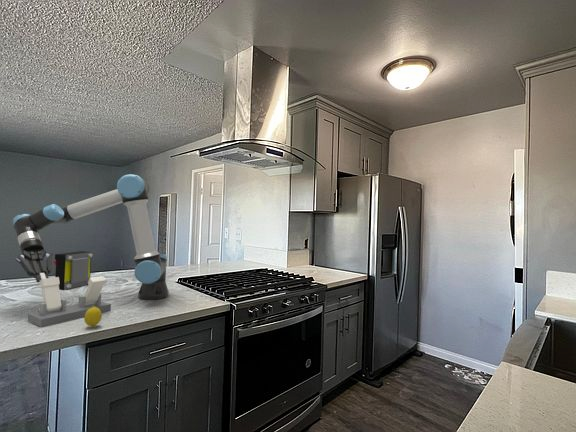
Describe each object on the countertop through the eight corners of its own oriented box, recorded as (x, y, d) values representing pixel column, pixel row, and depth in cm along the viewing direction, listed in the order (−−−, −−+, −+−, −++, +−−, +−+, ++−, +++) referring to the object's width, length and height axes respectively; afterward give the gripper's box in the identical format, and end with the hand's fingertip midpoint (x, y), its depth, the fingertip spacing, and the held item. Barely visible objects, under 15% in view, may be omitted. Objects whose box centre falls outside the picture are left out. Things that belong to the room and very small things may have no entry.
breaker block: (27, 320, 119) (28, 302, 120) (96, 306, 142) (97, 290, 142) (40, 327, 113) (41, 307, 114) (110, 310, 136) (111, 294, 136)
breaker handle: (80, 301, 132) (89, 277, 129) (94, 298, 137) (103, 275, 134) (83, 306, 131) (92, 282, 128) (97, 303, 136) (106, 280, 133)
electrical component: (66, 290, 168) (68, 255, 169) (52, 289, 170) (53, 254, 171) (92, 284, 186) (94, 252, 186) (79, 282, 188) (80, 251, 188)
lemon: (89, 324, 118) (90, 304, 118) (103, 324, 118) (104, 304, 119) (80, 329, 113) (81, 308, 113) (96, 329, 113) (97, 308, 113)
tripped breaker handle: (43, 313, 120) (39, 280, 122) (59, 309, 125) (55, 278, 127) (46, 311, 118) (42, 279, 121) (63, 308, 123) (58, 276, 126)
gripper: (45, 248, 140) (60, 289, 131) (9, 250, 129) (22, 295, 120) (51, 237, 137) (66, 279, 129) (14, 238, 126) (28, 284, 117)
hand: (45, 287), depth 124 cm, fingers closed
